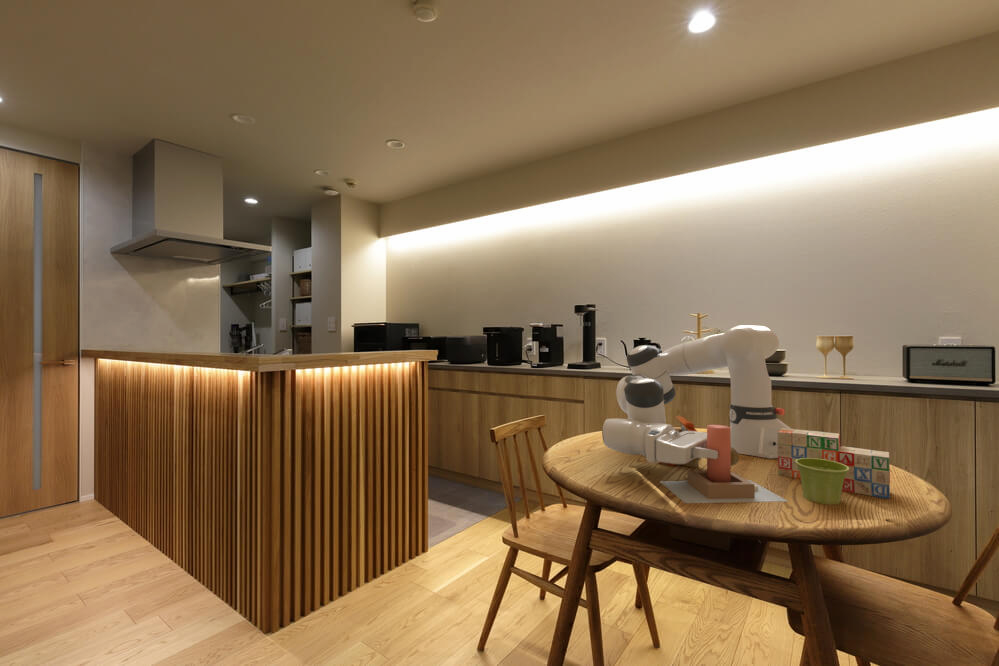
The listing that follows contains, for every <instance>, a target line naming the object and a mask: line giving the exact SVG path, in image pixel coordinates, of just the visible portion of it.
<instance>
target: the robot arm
mask: <svg viewBox="0 0 999 666" xmlns="http://www.w3.org/2000/svg"><path fill="white" fill-rule="evenodd" d="M779 346H780V340H779V337H778V335H777V334H776V333H775V332H774V331H773V330H771V329H769V328H768V327H767V326H764V325H752V324H751V325H744V324H743V325H741V324H740V325H735V326H733V327H731V328H729V329H728V330H726V331H725V332H723V333H718V334H712V335H708V336H704V337H700V338H697V339H693V340H689V341H686V342H682V343H679V344H676V345H674V346H672V347H670V348H667V349H666V350H664V351H663V350H662V349H661V348H660V347H655V346H654V345H650V344H649V345H648V344H644V345H638V346H636V347H634V348H633V349H631V350H630V351H629V352H628V353H627V355H626V362H627V365H628V367H629V368H630V371H631V375H626V376H624V377H622V378H621V379H620V380H618V383H617V386H616V390H615V395H616V396H615V397H616V400H617V404H618V406H619V407H620V408H621V410H622V411H623V413H626V415H627V418H616V417H615V418H606V419H605V421H604V422H603V425H602V430H601V433H602V436H601V437H602V442H603V444H604V446H606V447H607V448H608V449H610V450H612V451H615V452H619V453H623V454H627V455H632V456H637V455H640V456H643V457H645V458H646V461H647V462H648V463H653V464H655V463H659V462H664V463H671V464H676V465H681V464H686V463H688V462H690V461H691V460H693V459H695V458H701V459H707V458H713V459H717V458H718V457H719V450H717V449H707V432H705V431H704V432H703V431H697V432H696V431H683V432H680V433H679V432H678V431H675V429H674V428H675V427H674V426H673V425H672V424H670V423H669V424H668V423H667V422H666V412H665V405H666V404H668V403H670V402H672V401H673V400H674V398H675V397H676V394H677V393H676V388H675V384H673V382H672V379H671V376H687V375H693V374H694V375H695V374H700V373H702V372H708V371H712V370H717V369H721V368H727V367H728V372H729V379H730V403H729V422H730V425H729V427H730V428H731V447H732V448H734V449H735V450H736V451H737V453H738V454H740V455H746V456H747V455H748V456H753V457H760V458H764V459H778V449H777V448H778V447H777V444H778V431H779V430H780V429H781V428H789V429H792V428H791V427H790V426H788V425H787V424H786V423H784V422H783V421H781V420H780V419H779V418H778V415H780V416H784V415H785V413H786V411H785V409H784V408H781V407H774V406H773V404H772V379H771V378H770V375H769V372H768V368H767V364H766V359H768V358H770V357H772V356H773V355H774V354H775V353H776V352H777V350H778V348H779Z"/></svg>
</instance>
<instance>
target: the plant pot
mask: <svg viewBox="0 0 999 666" xmlns="http://www.w3.org/2000/svg"><path fill="white" fill-rule="evenodd" d="M795 462H796V464H797V465H798V469H799V471H800V476H801V479H800V481H801V487H802V489H801V490H802V494H803V498H804V499H806V500H808V501H811V502H813V503H816V504H817V503H818V504H822V505H838V504H841V498H842V497H841V496H842V487H843V482H844V478H845V477H846V473H847V472H848V471H849V467H848V466H846V465H844V464H841V463H838V462H835V461H830V460H825V459H817V458H800V459H796V460H795Z"/></svg>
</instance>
